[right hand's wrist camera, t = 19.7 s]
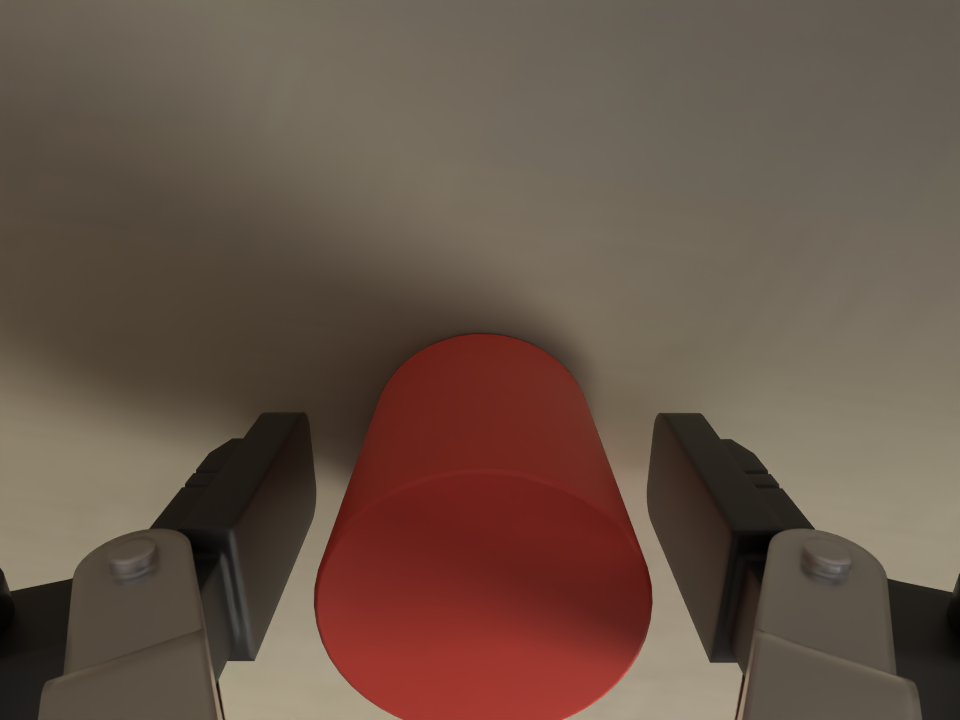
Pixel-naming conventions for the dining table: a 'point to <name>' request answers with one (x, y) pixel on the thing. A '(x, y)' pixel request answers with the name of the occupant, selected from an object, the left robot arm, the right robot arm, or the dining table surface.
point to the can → (482, 544)
